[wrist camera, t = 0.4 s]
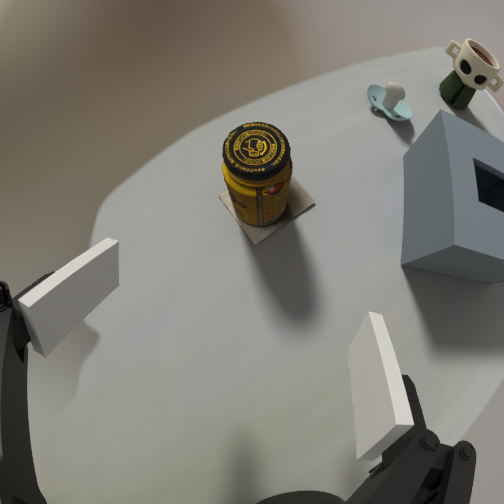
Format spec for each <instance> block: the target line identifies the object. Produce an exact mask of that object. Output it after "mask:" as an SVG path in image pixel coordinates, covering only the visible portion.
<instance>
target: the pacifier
mask: <svg viewBox="0 0 504 504" xmlns="http://www.w3.org/2000/svg"><path fill="white" fill-rule="evenodd" d="M367 96H368V99H369V101H370V102H371V104H372V105H373V106H374V107H376V108H377V109H379V110H380V111H382V112H383V113H384V114H386V115H387V116H388V117H389V118H391V119H392V120H395V121H406V120H408V119H409V118H410V117H411V116H412V111H411V109H410V108H409V107H408V106H407V105H406V104H405V103H404V102H403V101H402V99H404V98H405V91H404V89H403V88H402V87H401V86H400V85H399V84H398V83H396V82H388V83H387V85H386V89H384V88H383V87H381V86H378V85H370V86H369V88H368V90H367ZM372 97H374V98H375V100H376V101H374V100H373V99H372ZM396 116H399V117H401V118H397V117H396Z"/></svg>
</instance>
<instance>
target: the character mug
mask: <svg viewBox="0 0 504 504" xmlns="http://www.w3.org/2000/svg"><path fill="white" fill-rule="evenodd" d="M454 47H456V48H458V49H459V51H458V53H457V54H454V53H453V52H452V50H453V48H454ZM446 53H447V54H448V55H450V56H451V57H452V58H454V59H453V67H454V69H455V70H454V71H452V72H451V73H450V74H449V75H448V76H447V77H446V78H445V79H444V80H443V81H442V83H441V84H440V88H439V90H440V92H441V94H442V96H443V97H444V98H445V99H446V101H447V102H449V101H450V100H451V99H452V100H453V101H454V104H453V106H454V107H456V108H458V109H465V108H466V107H467V106H468V104H469V102H470V101H471V99H472V97H473V95H474V94H475V92H476V89H477V90H483V89H485V88H486V87H487V86H488V87H489V88H490V89H492V90H493V91H494V92H497V91H498V90H499V89H500V87H501V86H502V85H503V83H504V82H503V81H502V79H500V77H498V76H497V75H496V74H497V73H498V72H499V70H500V65H499V63H498V61H497V60H496V58H495V57H494V56H493V55H492V54H491V53H490V52H489V51H488V50H487V49H486V48H485V47H484V46H482V45H481V44H479V43H478V42H476V41H474V40H472V39H466V40H465V41H464V43H463V45H462V46H461V45H460V44H458V43H456V42H455V41H453V40H452V41H450V43H449V45H448V46H447V48H446ZM493 78H494V79H496V80H497V83H496V84H495V86H493V85H492V84H491V83H490V82H491V81H492V80H493Z"/></svg>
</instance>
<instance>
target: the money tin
mask: <svg viewBox="0 0 504 504" xmlns="http://www.w3.org/2000/svg"><path fill="white" fill-rule="evenodd" d="M403 158H404V225H403V243H402V256H401V265H404V266H409V267H413V268H418V269H422V270H427V271H432V272H436V273H441V274H445V275H450V276H454V277H459V278H463V279H467V280H472V281H476V282H480V283H485V284H494V283H499V282H504V142H502V141H501V140H499V139H497V138H496V137H494V136H492V135H491V134H489V133H487V132H485V131H483V130H482V129H480V128H478V127H476V126H474V125H472V124H470V123H468V122H466V121H464V120H462V119H460V118H458V117H456V116H454V115H452V114H450V113H448V112H445V111H443V110H440V111H439V112H438V113H437V115H436V116H435V117H434V119H433V120H432V121H431V122H430V124H429V125H428V126H427V127H426V129H425V130H424V131H423V132H422V134H421V135H420V136H419V137H418V139H417V140H416V141H415V142H414V144H413V145H412V146H411V147H410V149H409V150H408V151H407V152H406V153H405V155H404V156H403Z"/></svg>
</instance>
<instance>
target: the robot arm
mask: <svg viewBox="0 0 504 504" xmlns="http://www.w3.org/2000/svg"><path fill="white" fill-rule="evenodd" d="M118 286H119V241H116V240H113V239H110V238H106V239H105V240H103V241H102V242H100V243H98V244H97V245H95V246H94V247H92V248H91V249H89V250H88V251H86V252H85V253H83V254H81V255H80V256H78V257H77V258H76V259H74V260H73V261H71V262H70V263H68V264H67V265H65V266H64V267H62V268H61V269H59V270H58V271H57V272H51V273H49V274H46V275H44V276H42V277H41V278H40V279H38V280H37V281H35V282H34V283H33V284H32V285H30V286H29V287H27V288H26V289H24V290H23V291H22V292H21V293H19V294H18V295H17V296H15V297H14V298H11V295H10V291H9V287H8V285H7V283H5V282H4V281H0V504H47V502H46V500H45V498H44V496H43V495H42V493H41V492H40V490H39V487H38V484H37V479H36V474H35V469H34V463H33V457H32V450H31V442H30V433H29V421H28V404H27V365H28V364H27V363H28V347H27V344H28V343H29V342H30V341H31V343H32V345H33V348H34V350H35V351H36V352H38V353H39V354H41V355H42V356H43V357H45V358H46V357H47V356H48V355H49V354H50V353H51V352H52V351H53V349H54V348H55V347H56V346H57V345H58V344H59V343H60V342H61V341H62V340H63V339H64V338H65V337H66V336H67V335H68V334H69V333H70V332H71V331H72V330H73V329H74V328H75V327H76V326H77V325H78V324H79V323H80V322H81V321H82V320H83V319H84V318H85V317H86V316H87V315H88V314H89V313H90V312H91V311H92V310H93V309H94V308H95V307H96V306H97V305H99V304H100V303H101V302H102V301H103V300H104V299H105V298H106V297H107V296H108V295H109V294H110V293H111V292H112V291H113V290H114V289H116V288H117V287H118ZM347 356H348V363H349V372H350V380H351V389H352V399H353V409H354V421H355V435H356V452H357V460H375V459H376V458H377V457H378V456H380V455H381V454H382V462H381V463H379V464H378V465H377V466H375V467H374V468H373V469H371V470H370V471H369V473H371V472H372V473H371V474H370V475H369V477H368V478H367V479H366V480H365V481H364V482H363V484H362V485H361V486H360V487H359V488H358V489H357V490H356V491H355V493H354V494H353V495H352V496H351V497H350V498H349V499H348V500H347V501H346V502H345V501H344V500H342V499H341V498H339V497H338V496H335V495H333V494H330V493H326V492H320V491H296V492H289V493H283V494H279V495H276V496H272V497H270V498H267V499H265V500H262V501H260V502H259V503H257V504H469V502H470V497H471V492H472V486H473V480H474V473H475V465H476V451H475V449H474V447H473V446H472V444H471V443H469V442H467V441H460V442H458V443H457V444H456V445H455V446H453V447H451V446H448V445H445V444H441V443H440V441H439V439H438V437H437V435H436V434H435V433H434V432H432V431H430V430H428V429H427V428H426V424H425V420H424V417H423V413H422V409H421V406H420V403H419V399H418V395H417V392H416V388H415V385H414V383H413V382H412V380H411V379H410V377H409V376H408V375H402V374H401V372H400V369H399V366H398V362H397V359H396V356H395V353H394V350H393V347H392V343H391V340H390V337H389V334H388V331H387V329H386V326H385V323H384V320H383V317H382V315H381V314H377V313H373V312H369V311H368V313H367V315H366V317H365V319H364V321H363V323H362V325H361V327H360V329H359V331H358V332H357V334H356V336H355V338H354V340H353V342H352V343H351V345H350V347H349V349H348V351H347Z"/></svg>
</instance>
